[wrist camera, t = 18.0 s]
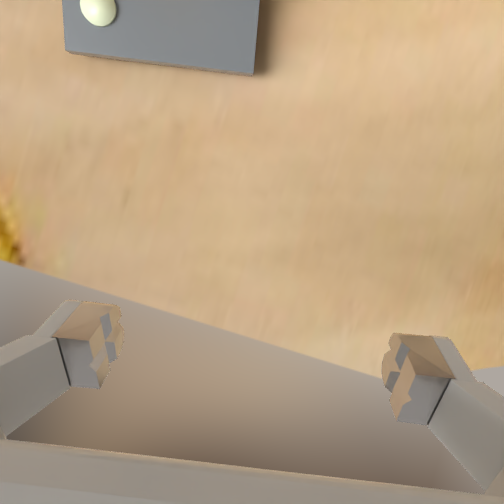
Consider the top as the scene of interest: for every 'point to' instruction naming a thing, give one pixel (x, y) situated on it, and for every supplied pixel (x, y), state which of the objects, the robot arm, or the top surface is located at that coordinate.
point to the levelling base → (166, 32)
